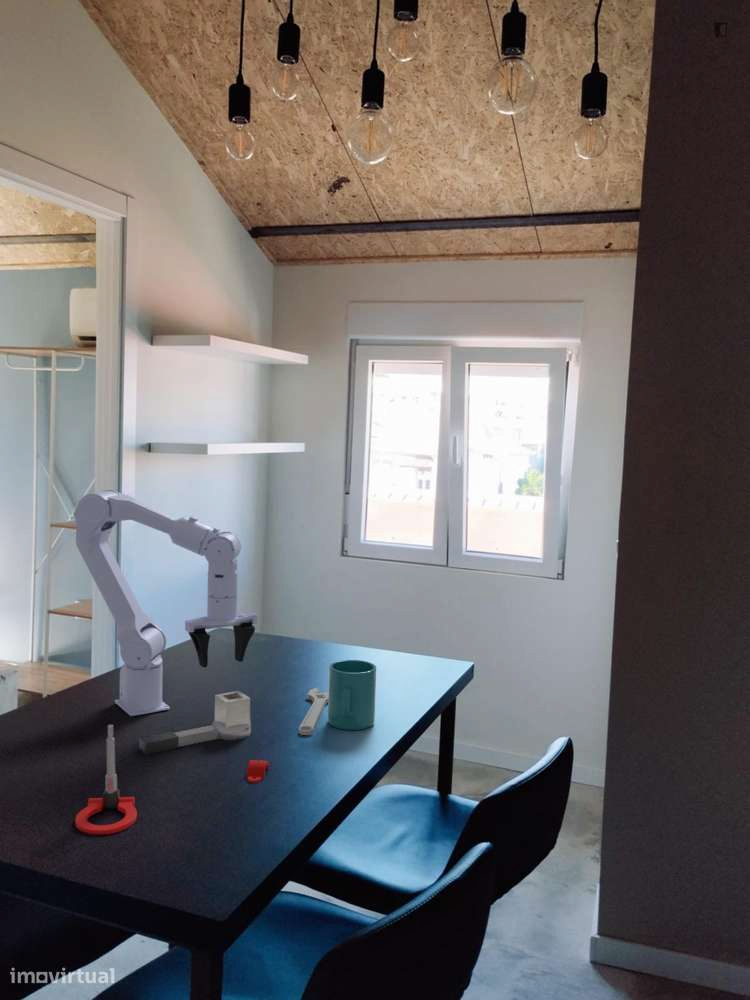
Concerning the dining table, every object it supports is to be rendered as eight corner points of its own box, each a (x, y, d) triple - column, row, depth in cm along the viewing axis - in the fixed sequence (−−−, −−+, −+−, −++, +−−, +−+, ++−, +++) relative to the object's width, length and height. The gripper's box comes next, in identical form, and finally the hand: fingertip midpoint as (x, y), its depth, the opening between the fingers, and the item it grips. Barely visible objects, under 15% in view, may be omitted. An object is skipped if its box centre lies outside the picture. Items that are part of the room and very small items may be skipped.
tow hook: (132, 837, 119) (141, 804, 128) (131, 749, 117) (140, 722, 126) (69, 839, 117) (83, 806, 127) (67, 751, 116) (81, 723, 125)
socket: (214, 721, 157) (214, 694, 157) (238, 716, 160) (238, 690, 160) (225, 729, 153) (226, 702, 153) (249, 724, 156) (250, 698, 156)
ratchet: (135, 745, 150) (135, 720, 150) (240, 723, 162) (240, 700, 161) (149, 758, 144) (149, 733, 144) (257, 735, 156) (257, 711, 156)
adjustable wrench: (311, 739, 157) (311, 730, 156) (278, 736, 158) (278, 726, 158) (341, 695, 181) (342, 687, 181) (312, 693, 182) (312, 685, 182)
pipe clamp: (254, 764, 144) (254, 751, 144) (271, 764, 144) (271, 752, 144) (244, 784, 136) (244, 771, 136) (261, 785, 136) (261, 772, 136)
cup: (320, 735, 157) (322, 676, 156) (332, 713, 169) (334, 658, 168) (368, 739, 156) (370, 679, 155) (377, 716, 168) (379, 661, 167)
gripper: (196, 603, 158) (195, 674, 159) (265, 595, 166) (263, 663, 168) (181, 595, 164) (180, 664, 165) (248, 588, 172) (247, 654, 173)
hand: (221, 663), depth 167 cm, fingers open, 7 cm apart
